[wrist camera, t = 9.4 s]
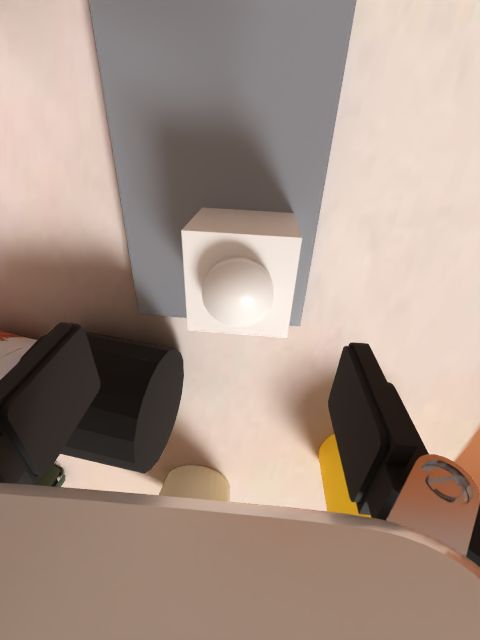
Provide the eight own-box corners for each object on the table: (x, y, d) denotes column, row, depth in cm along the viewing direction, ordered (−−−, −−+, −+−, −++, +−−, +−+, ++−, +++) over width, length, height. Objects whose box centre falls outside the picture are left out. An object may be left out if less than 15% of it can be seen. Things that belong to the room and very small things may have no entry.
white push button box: (202, 207, 21) (176, 235, 15) (293, 212, 21) (304, 243, 15) (204, 289, 24) (183, 339, 18) (283, 295, 24) (288, 347, 18)
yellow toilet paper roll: (349, 414, 32) (376, 506, 24) (426, 443, 34) (475, 539, 26) (303, 462, 37) (312, 552, 29) (371, 486, 39) (398, 577, 31)
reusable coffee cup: (246, 509, 44) (238, 660, 31) (165, 506, 46) (125, 650, 33) (237, 457, 38) (222, 620, 25) (142, 456, 39) (82, 609, 26)
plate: (97, -7, 17) (86, -16, 16) (352, 0, 16) (357, -9, 15) (143, 307, 27) (138, 314, 26) (298, 319, 26) (299, 326, 25)
